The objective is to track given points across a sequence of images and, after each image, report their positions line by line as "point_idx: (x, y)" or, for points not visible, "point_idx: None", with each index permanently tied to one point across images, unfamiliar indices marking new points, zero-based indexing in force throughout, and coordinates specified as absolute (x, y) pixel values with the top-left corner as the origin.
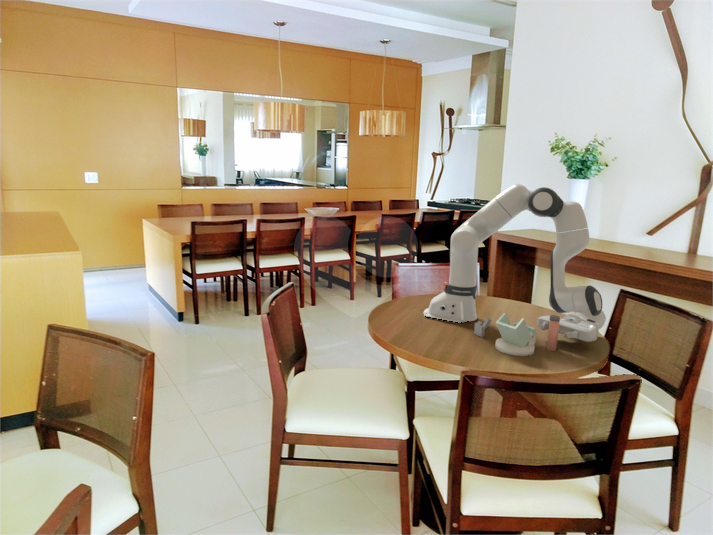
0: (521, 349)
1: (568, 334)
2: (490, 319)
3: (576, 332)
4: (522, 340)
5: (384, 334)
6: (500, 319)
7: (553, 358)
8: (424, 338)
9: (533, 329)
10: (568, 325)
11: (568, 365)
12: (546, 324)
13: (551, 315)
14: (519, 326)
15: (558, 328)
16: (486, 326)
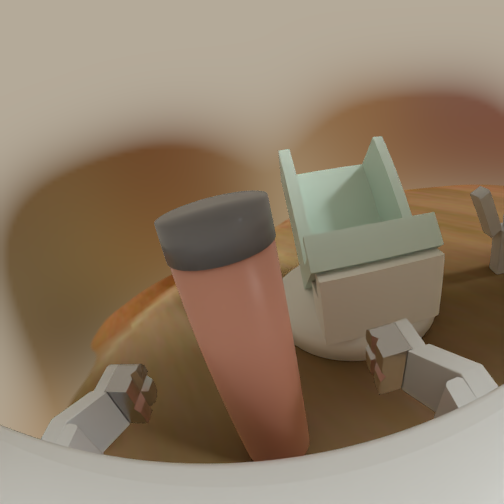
0: (292, 277)
1: (115, 367)
2: (478, 194)
3: (58, 416)
4: (297, 250)
5: (467, 187)
6: (365, 158)
7: (198, 365)
8: (456, 205)
9: (303, 241)
10: (136, 488)
11: (132, 359)
12: (442, 396)
13: (261, 196)
14: (281, 177)
15: (194, 333)
16: (484, 225)
